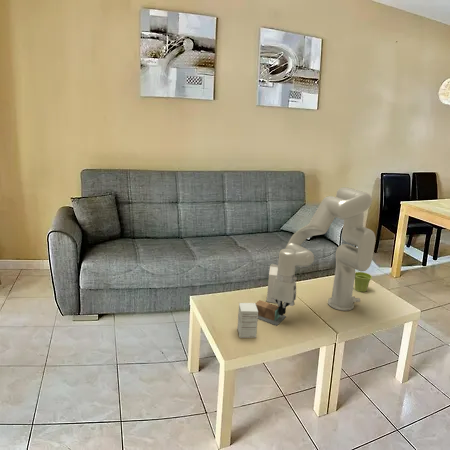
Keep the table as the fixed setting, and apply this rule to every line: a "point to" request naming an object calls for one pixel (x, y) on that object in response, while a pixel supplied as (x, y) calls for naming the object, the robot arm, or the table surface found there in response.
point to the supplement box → (247, 320)
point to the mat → (272, 320)
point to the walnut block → (267, 310)
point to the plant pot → (362, 281)
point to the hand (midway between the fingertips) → (281, 313)
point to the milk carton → (271, 282)
